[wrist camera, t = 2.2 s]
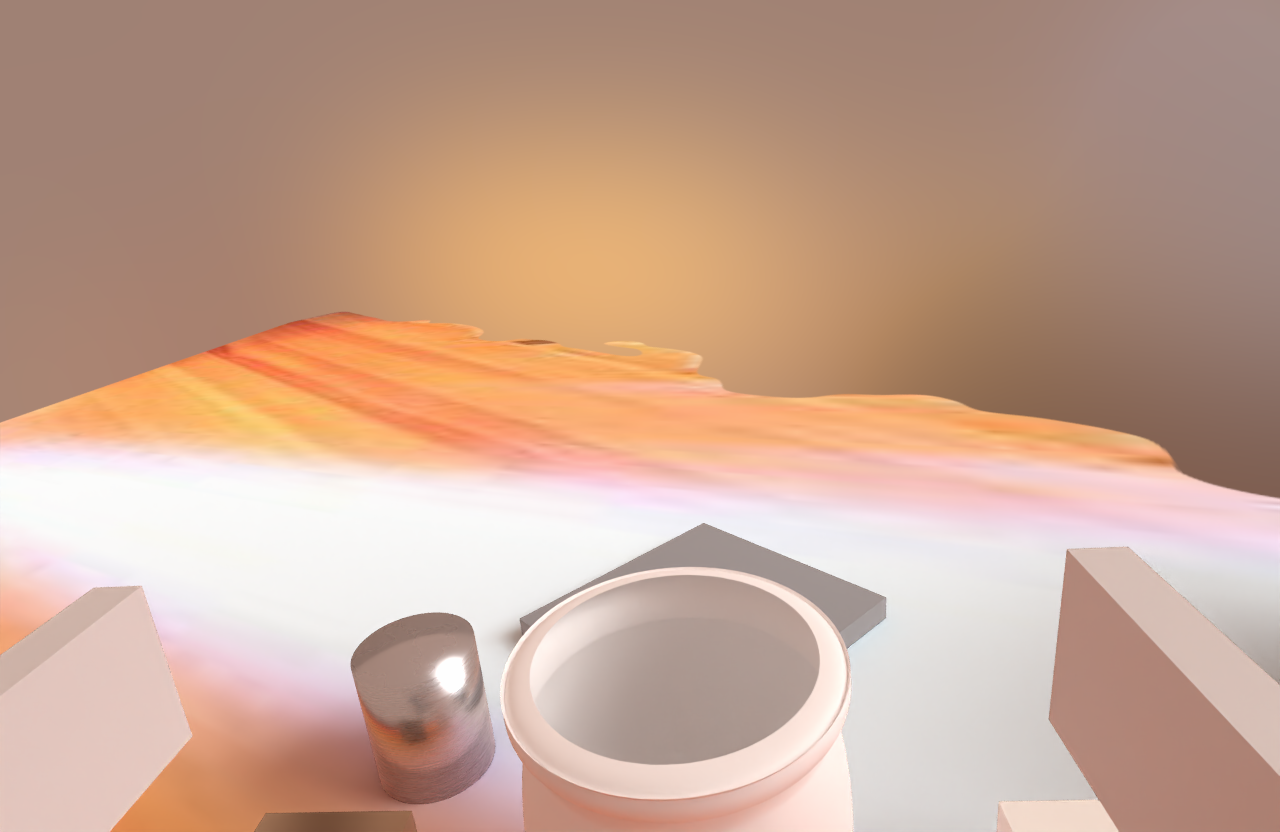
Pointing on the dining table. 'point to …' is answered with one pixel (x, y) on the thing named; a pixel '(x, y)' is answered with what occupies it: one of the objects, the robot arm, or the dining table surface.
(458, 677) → the metal tin
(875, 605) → the slate board
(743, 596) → the jar
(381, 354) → the dining table surface
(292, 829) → the walnut block
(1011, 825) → the offwhite block
